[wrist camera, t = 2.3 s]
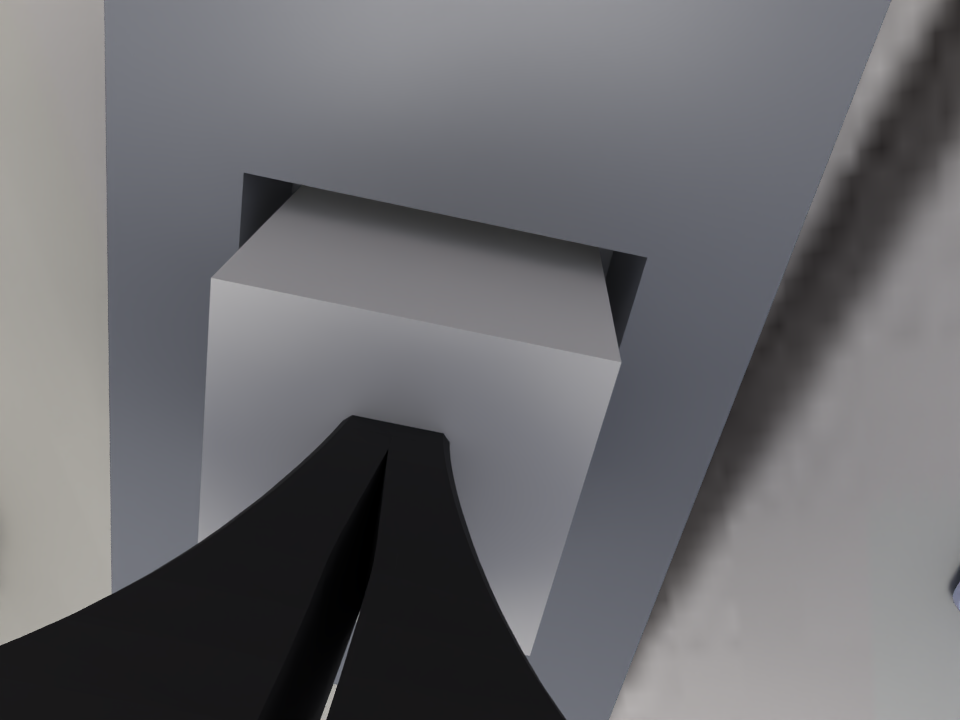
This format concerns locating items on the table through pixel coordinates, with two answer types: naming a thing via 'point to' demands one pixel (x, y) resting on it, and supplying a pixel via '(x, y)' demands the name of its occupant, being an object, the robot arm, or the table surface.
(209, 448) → the white key
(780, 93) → the key panel
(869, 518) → the table surface
